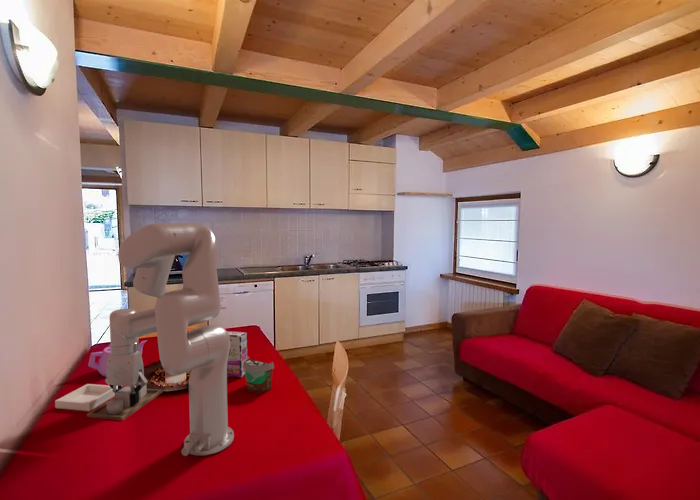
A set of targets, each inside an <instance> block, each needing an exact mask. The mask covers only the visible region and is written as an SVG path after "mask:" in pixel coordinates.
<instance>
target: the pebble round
mask: <svg viewBox="0 0 700 500" xmlns="http://www.w3.org/2000/svg"><path fill="white" fill-rule="evenodd" d="M106 402H107V415H119V414H121V413H122V412H123V399H122V398H115V399H113V398H111V399H109V400H107V401H106Z"/></svg>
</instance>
